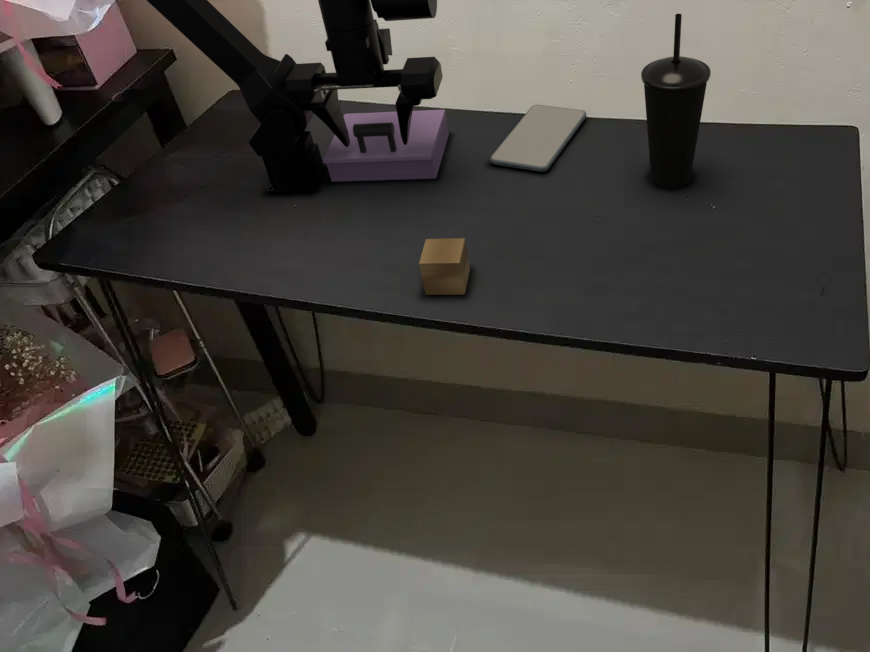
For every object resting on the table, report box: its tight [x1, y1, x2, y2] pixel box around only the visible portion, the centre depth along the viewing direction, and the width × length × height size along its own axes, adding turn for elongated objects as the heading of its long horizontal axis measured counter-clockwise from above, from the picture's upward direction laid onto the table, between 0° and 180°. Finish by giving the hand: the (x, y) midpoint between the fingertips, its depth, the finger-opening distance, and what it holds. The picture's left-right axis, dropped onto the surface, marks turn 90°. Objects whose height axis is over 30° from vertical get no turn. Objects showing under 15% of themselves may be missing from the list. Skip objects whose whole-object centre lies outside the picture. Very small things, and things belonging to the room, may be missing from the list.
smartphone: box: [489, 104, 587, 173], centre depth 112 cm, size 8×1×15 cm
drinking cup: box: [640, 13, 712, 189], centre depth 96 cm, size 8×8×20 cm
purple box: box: [325, 113, 450, 183], centre depth 112 cm, size 11×14×3 cm
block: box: [418, 237, 471, 296], centre depth 91 cm, size 4×4×4 cm
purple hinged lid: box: [322, 109, 446, 164], centre depth 109 cm, size 12×14×4 cm
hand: (376, 144), depth 107 cm, fingers open, 7 cm apart
